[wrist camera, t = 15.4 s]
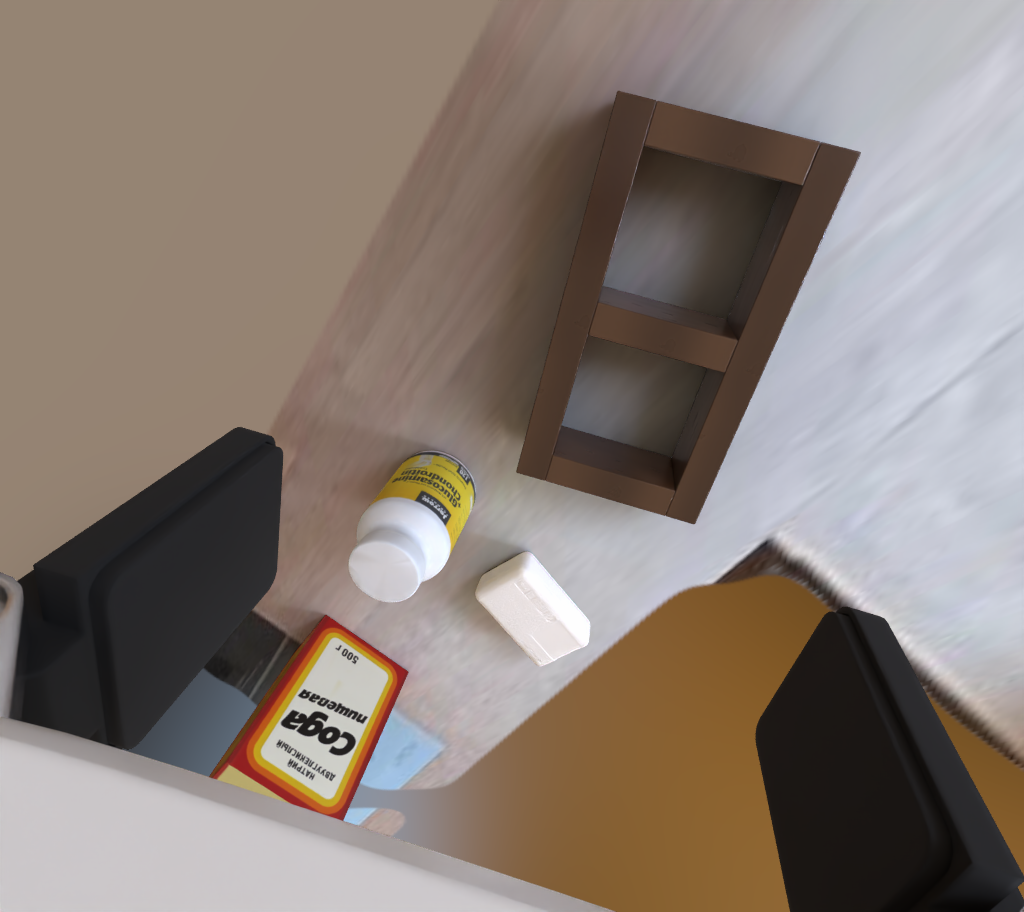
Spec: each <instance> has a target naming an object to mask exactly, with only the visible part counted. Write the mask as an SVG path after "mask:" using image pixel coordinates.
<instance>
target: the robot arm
mask: <svg viewBox="0 0 1024 912" xmlns="http://www.w3.org/2000/svg"><path fill="white" fill-rule="evenodd" d="M282 469H283V451H282V449H281V448H280V447H277V446H276V445H275V441H274V438H273V437H272V436H269V435H266V434H262V433H259V432H256V431H252V430H249V429H245V428H242V427H237V428H235V429H233V430H231V431H230V432H228V433H227V434H225V435H224V436H223V437H221V438H220V439H218V440H217V441H215V442H214V443H212V444H211V445H209V446H208V447H206V448H205V449H203V450H202V451H201V452H199V453H198V454H196V455H195V456H193V457H192V458H190V459H189V460H187V461H186V462H185V463H183V464H181V465H180V466H178V467H177V468H176V469H174V470H172V471H171V472H170V473H168V474H167V475H165V476H164V477H162V478H161V479H159V480H158V481H156V482H155V483H153V484H152V485H150V486H149V487H148V488H146V489H144V490H143V491H142V492H140V493H139V494H137V495H136V496H134V497H133V498H131V499H130V500H128V501H127V502H126V503H124V504H122V505H121V506H119V507H118V508H117V509H115V510H114V511H112V512H111V513H109V514H108V515H106V516H105V517H103V518H102V519H100V520H99V521H97V522H96V523H94V524H93V525H92V526H90V527H89V528H87V529H86V530H84V531H83V532H81V533H80V534H78V535H77V536H75V537H74V538H73V539H71V540H69V541H68V542H66V543H65V544H63V545H62V546H61V547H59V548H58V549H56V550H55V551H53V552H52V553H50V554H49V555H48V556H46V557H44V558H43V559H41V560H40V561H38V562H37V563H35V564H34V565H33V567H34V570H33V571H31V572H30V573H28V574H27V575H25V576H24V577H22V578H21V579H20V580H18V581H16V580H15V579H14V578H13V577H11V576H8V575H6V574H4V573H1V572H0V912H615V911H612V910H609V909H606V908H604V907H601V906H598V905H595V904H591V903H588V902H585V901H582V900H579V899H576V898H573V897H571V896H568V895H564V894H561V893H559V892H556V891H553V890H550V889H547V888H544V887H541V886H538V885H534V884H532V883H529V882H526V881H522V880H519V879H517V878H514V877H511V876H508V875H505V874H502V873H499V872H496V871H493V870H490V869H487V868H484V867H481V866H478V865H475V864H472V863H469V862H466V861H463V860H460V859H457V858H454V857H450V856H448V855H445V854H442V853H439V852H436V851H433V850H430V849H427V848H424V847H421V846H417V845H415V844H412V843H408V842H405V841H402V840H399V839H396V838H393V837H390V836H387V835H384V834H381V833H378V832H375V831H372V830H369V829H366V828H363V827H360V826H357V825H354V824H351V823H348V822H345V821H342V820H339V819H336V818H333V817H330V816H327V815H323V814H320V813H317V812H314V811H311V810H308V809H305V808H302V807H299V806H296V805H293V804H290V803H287V802H284V801H281V800H278V799H274V798H271V797H268V796H265V795H262V794H259V793H256V792H253V791H250V790H247V789H244V788H241V787H238V786H235V785H232V784H229V783H225V782H222V781H219V780H216V779H213V778H210V777H207V776H204V775H201V774H198V773H195V772H192V771H189V770H186V769H182V768H179V767H176V766H173V765H169V764H166V763H163V762H159V761H156V760H153V759H150V758H147V757H143V756H140V755H137V754H134V753H130V752H127V751H123V750H122V748H124V749H127V750H129V749H132V748H133V747H135V746H136V745H137V744H138V743H139V742H140V741H141V740H142V739H143V738H144V737H145V736H146V734H147V733H148V732H149V731H150V730H151V728H152V727H153V726H154V725H155V724H156V723H157V721H158V720H159V719H160V718H161V717H162V716H163V714H164V713H165V712H166V711H167V709H168V708H169V707H170V706H171V705H172V704H173V702H174V701H175V700H176V699H177V698H178V697H179V695H180V694H181V693H182V692H183V691H184V689H185V688H186V687H187V686H188V684H189V683H190V682H191V681H192V680H193V679H194V678H195V677H196V675H197V674H198V673H199V672H200V671H201V669H202V668H203V667H204V666H205V665H206V664H207V662H208V661H209V660H210V659H211V658H212V656H213V655H214V654H215V653H216V652H217V651H218V649H219V648H220V647H221V646H222V645H223V643H224V642H225V641H226V640H227V639H228V638H229V636H230V635H231V634H232V633H233V632H234V630H235V629H236V628H237V627H238V626H239V625H240V623H241V622H242V621H243V620H244V619H245V617H246V616H247V615H248V614H249V613H250V612H251V610H252V609H253V608H254V607H255V606H256V604H257V603H258V602H259V601H260V600H261V599H262V597H263V596H264V595H265V594H266V593H267V592H268V590H269V589H270V587H271V585H272V584H273V581H274V579H275V576H276V572H277V559H278V541H279V523H280V505H281V487H282ZM756 746H757V750H758V756H759V760H760V765H761V771H762V775H763V780H764V785H765V790H766V795H767V800H768V805H769V810H770V815H771V820H772V825H773V830H774V835H775V839H776V844H777V849H778V854H779V859H780V864H781V869H782V874H783V879H784V884H785V889H786V894H787V898H788V903H789V908H790V912H1024V899H1023V897H1022V895H1021V893H1020V891H1019V889H1018V886H1019V885H1020V884H1022V883H1023V882H1024V875H1023V873H1022V872H1021V870H1020V868H1019V866H1018V864H1017V863H1016V860H1015V859H1014V857H1013V855H1012V853H1011V851H1010V849H1009V848H1008V846H1007V844H1006V842H1005V840H1004V838H1003V836H1002V834H1001V832H1000V831H999V829H998V827H997V825H996V823H995V821H994V819H993V818H992V816H991V814H990V812H989V810H988V808H987V806H986V805H985V803H984V801H983V799H982V797H981V795H980V793H979V792H978V790H977V788H976V786H975V784H974V782H973V780H972V779H971V777H970V775H969V773H968V771H967V769H966V768H965V766H964V764H963V762H962V760H961V758H960V756H959V754H958V752H957V751H956V749H955V747H954V745H953V743H952V741H951V740H950V738H949V736H948V734H947V732H946V730H945V728H944V726H943V725H942V723H941V721H940V719H939V717H938V715H937V713H936V712H935V710H934V708H933V706H932V704H931V702H930V700H929V699H928V697H927V695H926V693H925V691H924V689H923V687H922V685H921V684H920V682H919V680H918V678H917V676H916V674H915V672H914V671H913V669H912V667H911V665H910V663H909V661H908V659H907V658H906V656H905V654H904V652H903V650H902V648H901V646H900V645H899V643H898V641H897V639H896V637H895V635H894V633H893V632H892V630H891V628H890V626H889V624H888V623H887V621H886V620H885V619H884V618H882V617H880V616H877V615H873V614H870V613H867V612H863V611H860V610H857V609H853V608H850V607H842V608H840V609H839V610H838V611H837V612H836V613H835V612H828V613H827V614H825V615H824V617H823V618H822V620H821V622H820V623H819V624H818V626H817V628H816V629H815V631H814V632H813V634H812V636H811V637H810V639H809V641H808V642H807V644H806V645H805V647H804V649H803V650H802V652H801V654H800V655H799V657H798V658H797V660H796V661H795V663H794V665H793V666H792V668H791V669H790V671H789V673H788V674H787V676H786V677H785V679H784V681H783V682H782V684H781V685H780V687H779V689H778V690H777V692H776V693H775V695H774V697H773V698H772V700H771V702H770V703H769V705H768V706H767V708H766V709H765V711H764V713H763V715H762V716H761V717H760V719H759V722H758V724H757V728H756Z"/></svg>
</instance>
